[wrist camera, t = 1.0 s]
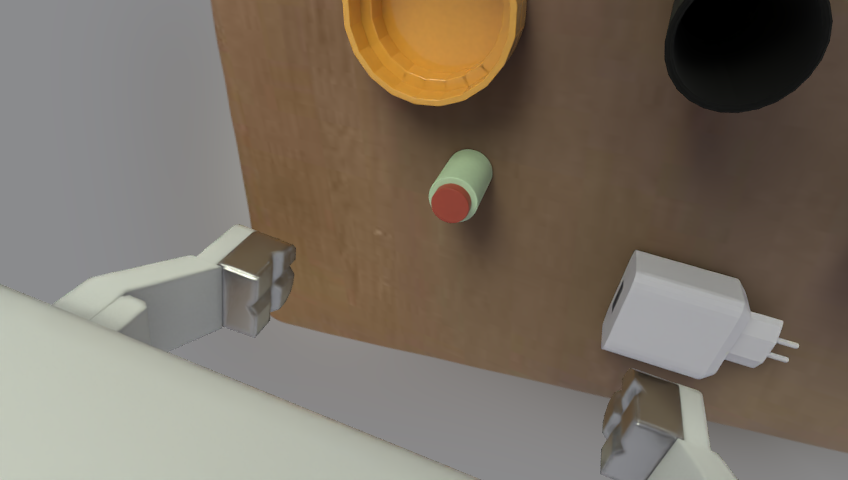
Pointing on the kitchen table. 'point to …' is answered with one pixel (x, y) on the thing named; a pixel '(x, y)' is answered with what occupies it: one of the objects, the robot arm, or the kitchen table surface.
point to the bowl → (433, 44)
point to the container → (460, 186)
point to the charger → (686, 319)
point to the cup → (744, 49)
